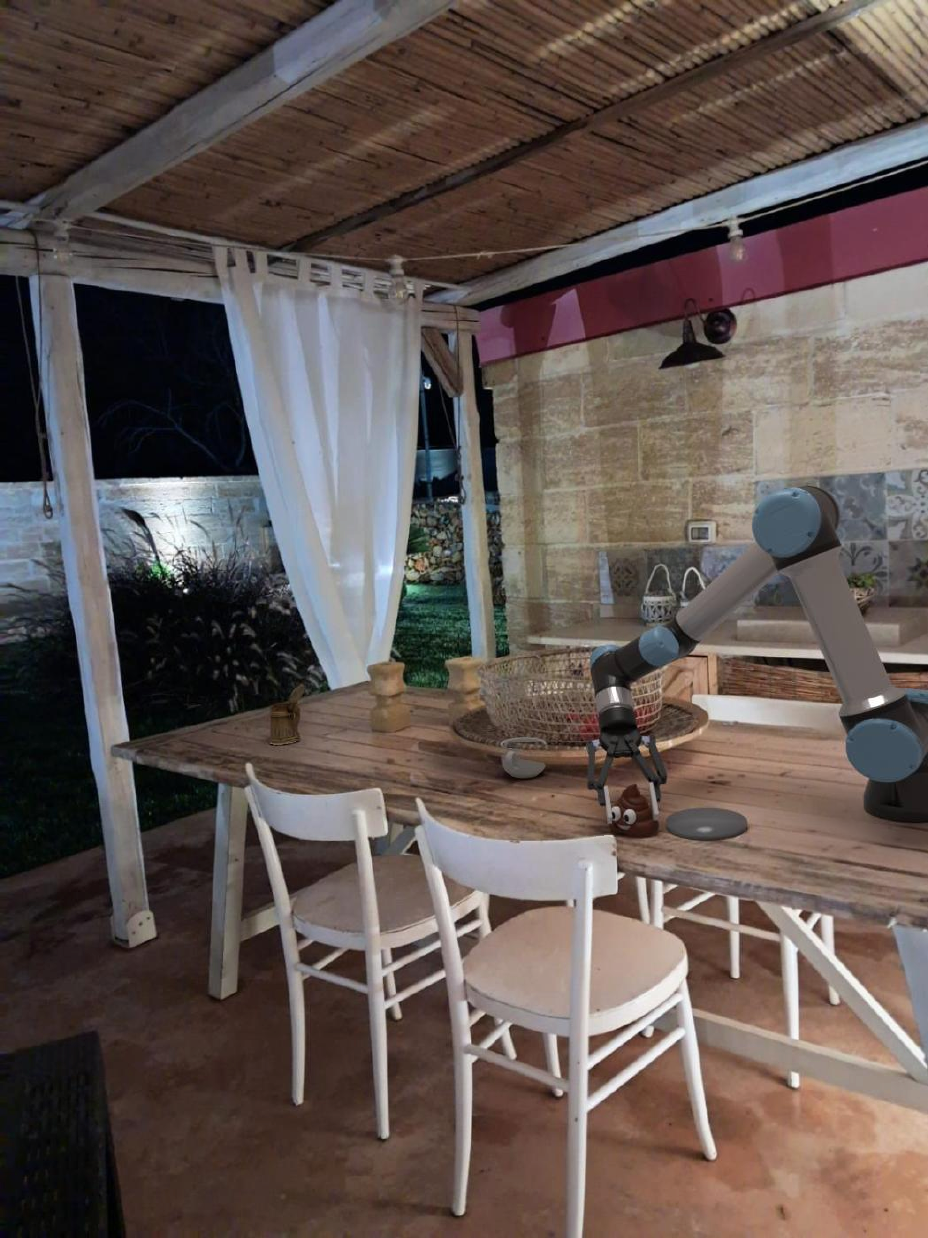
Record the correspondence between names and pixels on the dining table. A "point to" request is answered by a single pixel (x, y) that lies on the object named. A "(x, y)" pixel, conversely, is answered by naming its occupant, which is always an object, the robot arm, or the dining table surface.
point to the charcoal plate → (706, 823)
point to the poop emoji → (633, 814)
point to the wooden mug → (286, 718)
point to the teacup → (521, 760)
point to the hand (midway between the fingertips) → (633, 818)
